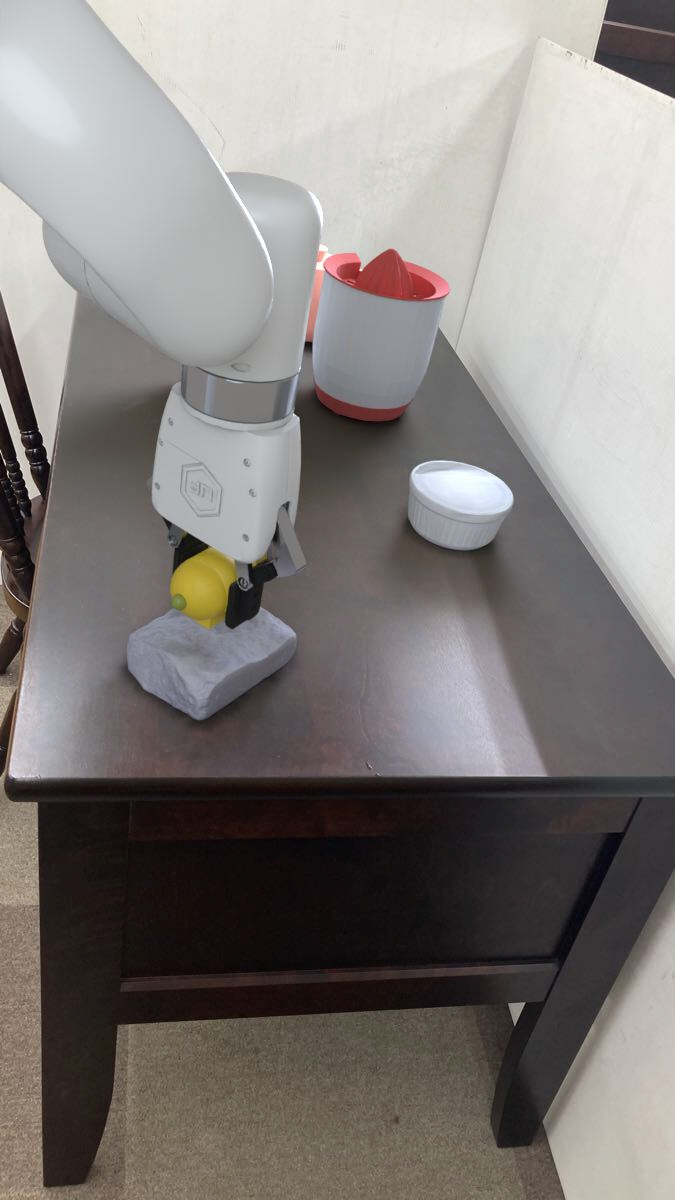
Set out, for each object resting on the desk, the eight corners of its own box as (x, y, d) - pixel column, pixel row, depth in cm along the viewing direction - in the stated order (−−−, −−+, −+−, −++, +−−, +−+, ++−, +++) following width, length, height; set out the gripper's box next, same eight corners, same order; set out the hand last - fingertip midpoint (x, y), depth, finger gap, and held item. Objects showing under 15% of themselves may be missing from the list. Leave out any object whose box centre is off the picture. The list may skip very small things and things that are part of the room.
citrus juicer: (404, 379, 126) (439, 234, 114) (428, 437, 113) (470, 279, 101) (295, 366, 123) (319, 215, 111) (306, 424, 110) (335, 259, 98)
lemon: (194, 646, 65) (200, 594, 62) (147, 615, 67) (151, 563, 64) (278, 593, 72) (286, 544, 69) (233, 566, 73) (239, 517, 70)
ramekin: (443, 490, 102) (455, 450, 99) (520, 539, 97) (535, 497, 94) (378, 516, 95) (388, 473, 92) (456, 569, 90) (470, 526, 87)
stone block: (112, 684, 71) (205, 732, 66) (108, 631, 68) (203, 677, 63) (216, 626, 79) (304, 665, 74) (214, 578, 77) (305, 615, 72)
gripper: (104, 349, 59) (100, 571, 69) (306, 454, 52) (267, 681, 63) (184, 327, 64) (169, 537, 75) (377, 419, 57) (329, 635, 68)
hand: (214, 601), depth 69 cm, fingers closed on lemon, 4 cm apart
